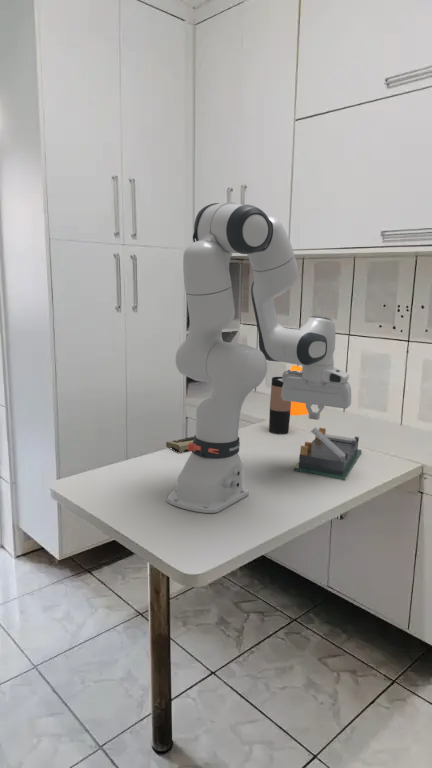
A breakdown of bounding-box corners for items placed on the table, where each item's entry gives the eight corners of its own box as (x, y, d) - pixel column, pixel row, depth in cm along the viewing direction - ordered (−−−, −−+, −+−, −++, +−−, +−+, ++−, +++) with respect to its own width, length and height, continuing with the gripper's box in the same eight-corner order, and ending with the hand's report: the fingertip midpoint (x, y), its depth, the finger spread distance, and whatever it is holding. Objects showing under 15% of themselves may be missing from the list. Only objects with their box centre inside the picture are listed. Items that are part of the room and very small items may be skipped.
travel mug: (277, 427, 198) (280, 375, 195) (293, 432, 193) (297, 379, 189) (264, 430, 193) (267, 377, 189) (280, 435, 188) (284, 381, 184)
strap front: (342, 459, 150) (344, 457, 150) (310, 431, 153) (312, 429, 153) (344, 456, 153) (346, 454, 153) (313, 428, 156) (315, 427, 155)
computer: (204, 440, 180) (204, 431, 179) (218, 447, 174) (219, 437, 173) (165, 448, 170) (165, 438, 170) (179, 455, 164) (179, 445, 164)
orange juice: (293, 415, 217) (297, 368, 213) (281, 410, 225) (284, 365, 221) (308, 414, 221) (312, 367, 217) (296, 409, 229) (299, 364, 225)
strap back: (354, 443, 166) (354, 441, 166) (317, 437, 171) (317, 435, 171) (356, 441, 169) (356, 438, 169) (319, 435, 174) (319, 433, 174)
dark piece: (344, 480, 147) (346, 456, 146) (293, 470, 153) (295, 447, 152) (361, 452, 172) (363, 432, 171) (316, 445, 178) (318, 425, 177)
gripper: (279, 370, 152) (277, 416, 155) (350, 378, 144) (346, 426, 147) (286, 367, 158) (283, 411, 161) (354, 374, 150) (350, 421, 152)
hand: (314, 418), depth 154 cm, fingers closed
